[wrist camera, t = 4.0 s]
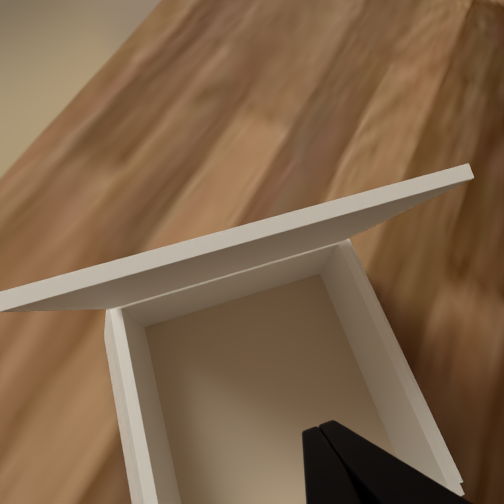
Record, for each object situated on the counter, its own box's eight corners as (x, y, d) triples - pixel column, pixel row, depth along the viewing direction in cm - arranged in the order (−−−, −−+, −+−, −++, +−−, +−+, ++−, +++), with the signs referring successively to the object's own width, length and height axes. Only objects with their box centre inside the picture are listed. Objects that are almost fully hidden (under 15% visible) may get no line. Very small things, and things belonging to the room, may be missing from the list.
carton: (492, 580, 17) (588, 647, 12) (175, 732, 15) (146, 886, 10) (346, 259, 23) (374, 223, 19) (107, 332, 21) (69, 311, 16)
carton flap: (345, 240, 18) (474, 177, 9) (112, 308, 16) (-4, 312, 7) (342, 230, 18) (467, 159, 9) (109, 298, 16) (-9, 289, 8)
